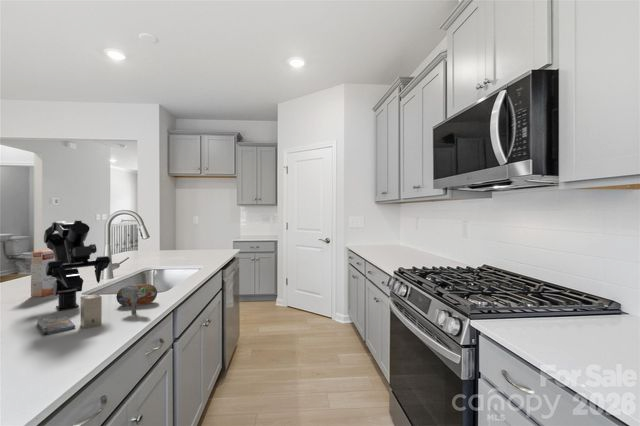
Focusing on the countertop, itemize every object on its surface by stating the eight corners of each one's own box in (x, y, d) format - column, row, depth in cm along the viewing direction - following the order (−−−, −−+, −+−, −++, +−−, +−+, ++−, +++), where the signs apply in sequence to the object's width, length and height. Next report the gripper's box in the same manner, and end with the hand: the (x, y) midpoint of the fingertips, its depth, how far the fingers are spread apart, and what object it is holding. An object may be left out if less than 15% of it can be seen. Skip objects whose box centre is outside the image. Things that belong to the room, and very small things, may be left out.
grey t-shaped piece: (142, 314, 119) (142, 289, 119) (119, 312, 121) (119, 287, 121) (147, 312, 122) (147, 287, 122) (125, 310, 124) (125, 285, 124)
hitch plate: (37, 324, 108) (37, 317, 108) (66, 318, 114) (66, 312, 114) (43, 335, 99) (43, 328, 99) (75, 328, 105) (75, 321, 105)
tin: (116, 307, 128) (116, 287, 128) (118, 305, 131) (118, 285, 131) (156, 303, 134) (156, 284, 134) (157, 301, 137) (157, 282, 137)
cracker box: (43, 297, 141) (42, 251, 141) (30, 297, 141) (29, 251, 141) (68, 289, 155) (68, 248, 155) (56, 289, 155) (56, 247, 155)
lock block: (80, 325, 108) (80, 296, 108) (97, 321, 112) (97, 293, 112) (84, 328, 105) (84, 299, 105) (101, 324, 109) (101, 296, 109)
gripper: (47, 239, 108) (55, 277, 102) (109, 235, 122) (119, 269, 116) (42, 257, 113) (49, 294, 107) (102, 251, 128) (110, 284, 122)
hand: (83, 284), depth 113 cm, fingers open, 9 cm apart
